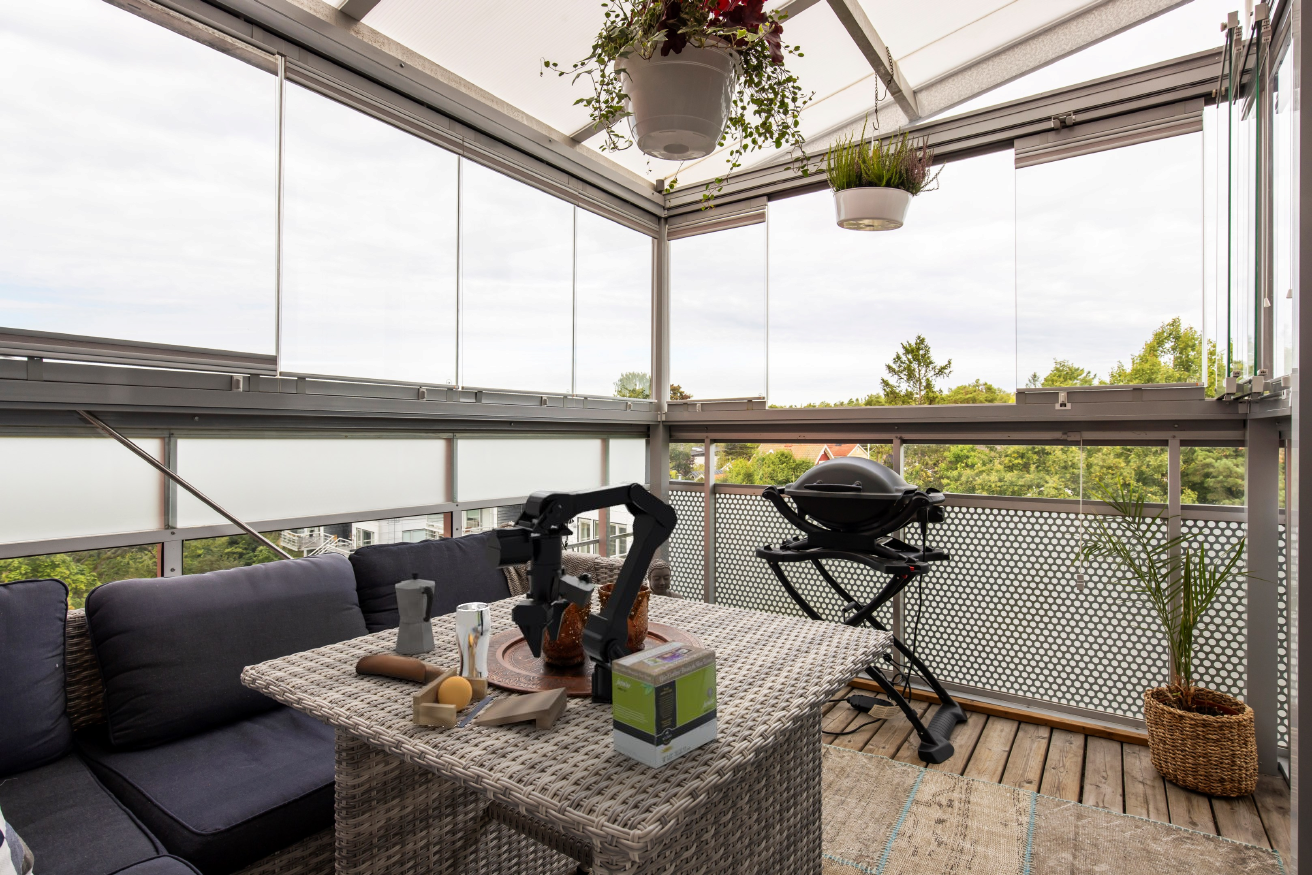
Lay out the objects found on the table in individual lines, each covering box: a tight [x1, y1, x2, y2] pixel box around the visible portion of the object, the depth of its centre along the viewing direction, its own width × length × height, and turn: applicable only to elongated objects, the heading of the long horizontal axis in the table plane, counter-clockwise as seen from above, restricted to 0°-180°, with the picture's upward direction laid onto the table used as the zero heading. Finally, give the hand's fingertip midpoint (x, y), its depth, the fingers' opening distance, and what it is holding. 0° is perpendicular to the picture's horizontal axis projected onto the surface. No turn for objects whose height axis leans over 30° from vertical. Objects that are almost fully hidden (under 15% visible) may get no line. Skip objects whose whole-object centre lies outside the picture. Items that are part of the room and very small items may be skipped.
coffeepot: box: [394, 570, 436, 655], centre depth 160 cm, size 15×9×18 cm, turn 43°
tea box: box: [612, 639, 718, 770], centre depth 112 cm, size 15×10×15 cm, turn 136°
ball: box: [438, 675, 472, 712], centre depth 126 cm, size 6×6×6 cm
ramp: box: [473, 686, 568, 731], centre depth 124 cm, size 14×10×5 cm
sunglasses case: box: [355, 653, 447, 686], centre depth 145 cm, size 18×7×7 cm
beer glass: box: [454, 602, 492, 678], centre depth 141 cm, size 7×7×15 cm
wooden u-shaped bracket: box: [412, 667, 494, 728], centre depth 126 cm, size 9×14×5 cm, turn 170°
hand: (545, 649), depth 123 cm, fingers open, 9 cm apart
